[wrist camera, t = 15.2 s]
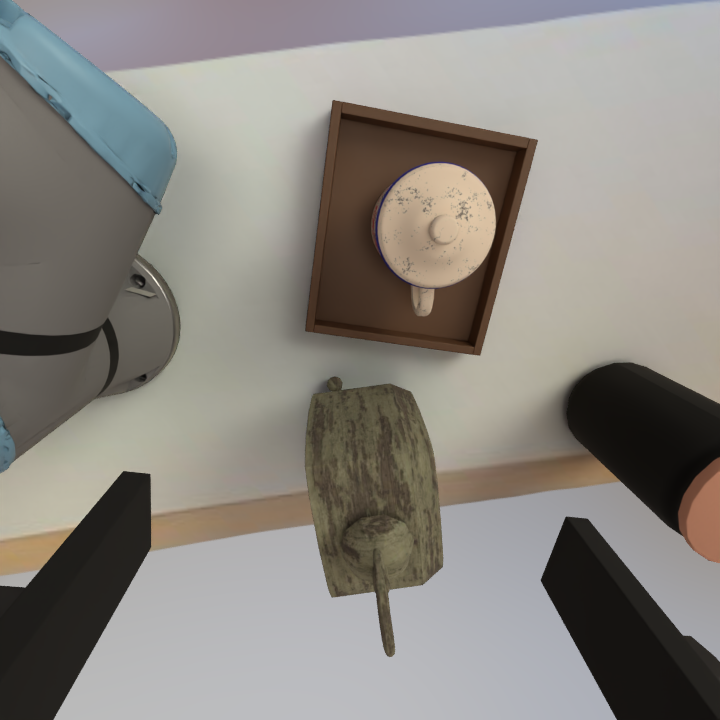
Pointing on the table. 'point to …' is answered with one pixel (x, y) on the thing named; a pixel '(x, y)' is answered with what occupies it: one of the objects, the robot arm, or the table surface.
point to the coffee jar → (655, 445)
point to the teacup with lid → (433, 228)
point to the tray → (354, 238)
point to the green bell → (372, 493)
